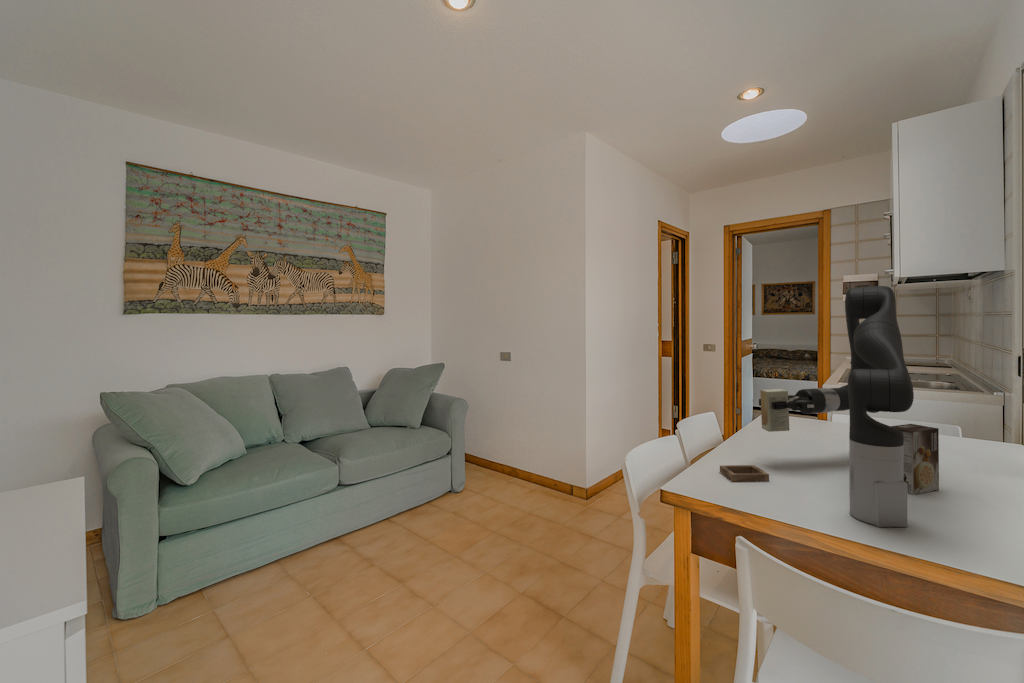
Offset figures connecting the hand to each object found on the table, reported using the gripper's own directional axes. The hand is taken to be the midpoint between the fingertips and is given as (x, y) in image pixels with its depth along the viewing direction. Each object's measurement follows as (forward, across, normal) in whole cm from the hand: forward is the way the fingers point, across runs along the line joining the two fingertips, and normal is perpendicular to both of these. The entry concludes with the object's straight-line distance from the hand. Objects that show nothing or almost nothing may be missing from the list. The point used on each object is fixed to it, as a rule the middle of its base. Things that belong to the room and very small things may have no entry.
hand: (766, 404), depth 130 cm
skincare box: (-3, 0, +8) cm, 9 cm away
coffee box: (-24, +22, +20) cm, 38 cm away
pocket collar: (+12, +6, +19) cm, 23 cm away
